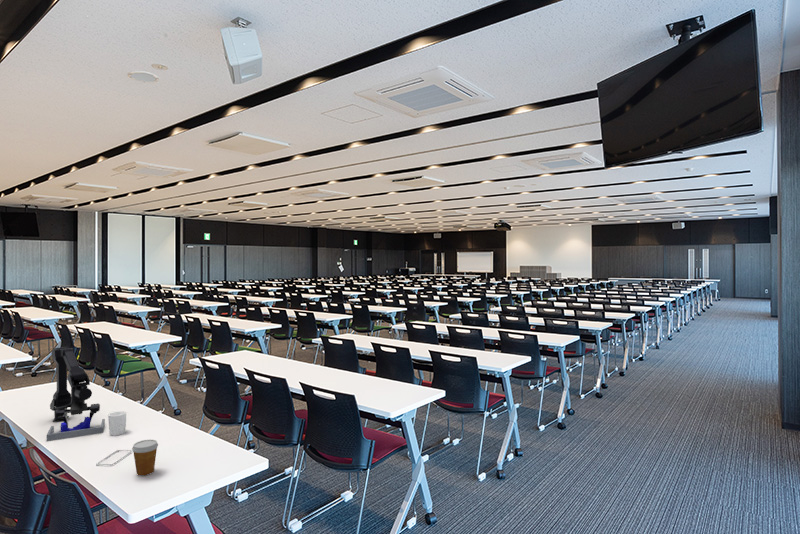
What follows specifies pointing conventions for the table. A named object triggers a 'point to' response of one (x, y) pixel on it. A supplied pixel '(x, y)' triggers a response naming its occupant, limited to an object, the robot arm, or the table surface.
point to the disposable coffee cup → (145, 456)
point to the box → (74, 432)
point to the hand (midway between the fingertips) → (78, 426)
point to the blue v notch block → (82, 425)
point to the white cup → (117, 422)
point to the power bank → (112, 454)
